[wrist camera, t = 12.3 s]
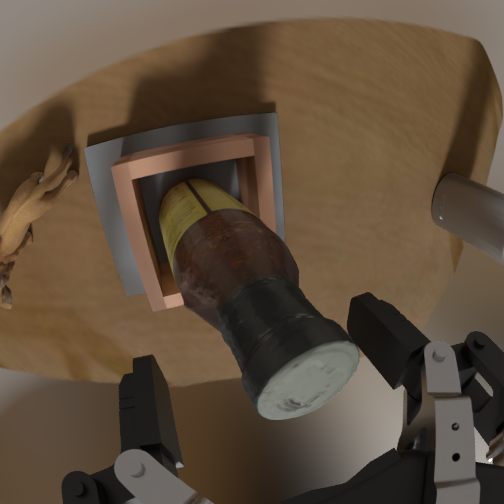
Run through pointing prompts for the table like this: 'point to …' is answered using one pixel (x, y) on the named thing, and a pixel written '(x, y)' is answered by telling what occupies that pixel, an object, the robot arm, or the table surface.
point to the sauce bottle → (253, 300)
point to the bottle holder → (170, 172)
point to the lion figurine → (27, 218)
